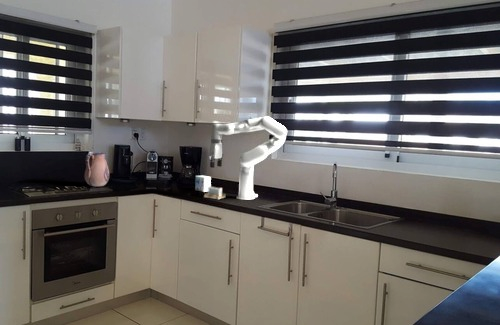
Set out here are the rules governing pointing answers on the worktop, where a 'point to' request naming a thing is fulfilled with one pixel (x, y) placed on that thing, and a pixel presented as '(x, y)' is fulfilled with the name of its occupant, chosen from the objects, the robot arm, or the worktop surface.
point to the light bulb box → (202, 183)
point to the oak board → (214, 196)
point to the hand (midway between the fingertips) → (215, 166)
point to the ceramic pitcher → (96, 169)
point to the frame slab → (215, 191)
